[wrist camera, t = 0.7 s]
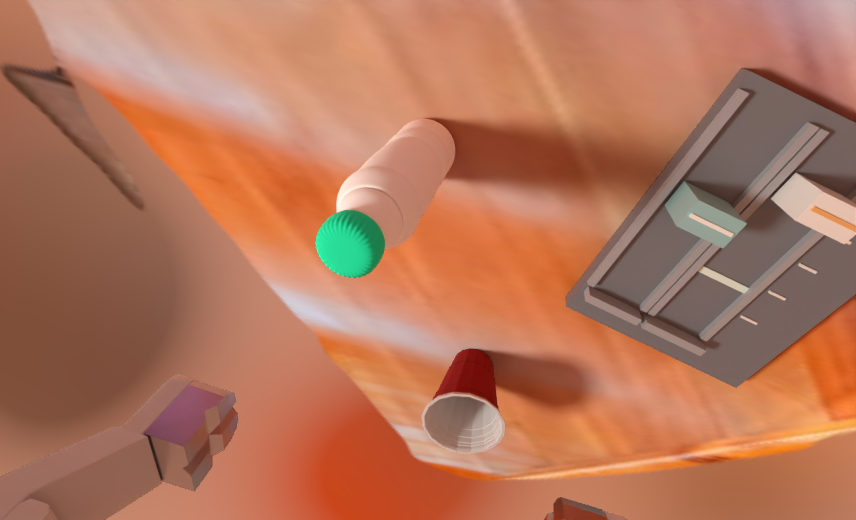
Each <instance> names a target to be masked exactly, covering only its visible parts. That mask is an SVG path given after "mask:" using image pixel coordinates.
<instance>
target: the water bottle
mask: <svg viewBox="0 0 856 520" xmlns="http://www.w3.org/2000/svg"><path fill="white" fill-rule="evenodd" d="M454 158H455V144H454V140H453V138H452V136H451V134H450V133H449V131H448V130H447V129H446V128H445V127H444V126H443V125H441V124H440V123H438V122H436V121H434V120H430V119H417V120H414V121H411V122H410V123H408V124H406V125H405V126H404V127H403V128H402V129H401V130H400V131H399V132H398V133H397V134H396V135H395V136H393V137H392V138H391V139H390V140H389V141H388V143H387V144H386V145H385V146H384V147H382V148H381V149H380V150H378V151H377V152H376V153H375V154H374V155H373V156H371V157H370V158H369V159H368V160H367V161H366V162H365V163H364V164H363V165H362V167H361V168H360V169H359V170H358V171H356V172H355V173H353V174H352V175H350V176H349V177H348V178H347V179H346V181H345V182H344V183H343V185H342V186H341V188H340V191H339V193H338V197H337V213H335V214H334V215H332V216H331V217H330V218H328V219H327V220H326V221H325V223H324V224H323V225H322V226H321V228H320V230H319V231H318V235H317V237H316V249H317V250H318V254H319V255H320V258H321V259H322V262H323V263H325V265H326V266H327V267H329V269H330V270H332V271H334V273H338V274H339V275H343V276H344V277H346V276H347V277H349V278H351V277H353V278H356V277H362V276H365V275H367V274H369V273H370V272H371V271H372V270H373V269H374V268H375V267H376V266H377V264H378V263H379V262H380V260H381V258H382V256H383V253H384V250H386V249H391V248H394V247H397V246H399V245H401V244H403V243H404V242H406V241H407V240H408V239H409V238H410V237H411V236H412V235H413V233H414V232H415V230H416V228H417V226H418V224H419V221H420V219H421V217H422V216H423V215H424V213H425V211H426V210H427V208H428V207H429V205H430V203H431V201H432V199H433V197H434V195H435V193H436V191H437V189H438V187H439V186H440V185H441V183H442V182H443V180H444V178H445V176H446V174H447V172H448V171H449V170H450V168H451V166H452V164H453V162H454Z"/></svg>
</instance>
